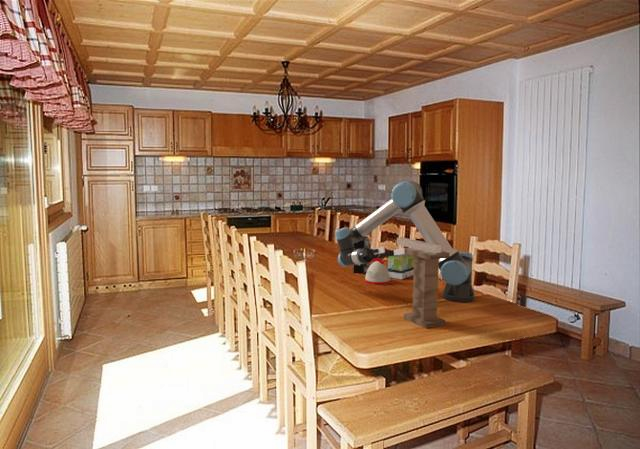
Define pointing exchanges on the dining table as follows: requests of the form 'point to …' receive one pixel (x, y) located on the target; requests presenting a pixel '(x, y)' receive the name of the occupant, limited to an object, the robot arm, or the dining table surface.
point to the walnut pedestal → (425, 288)
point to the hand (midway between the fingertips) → (394, 250)
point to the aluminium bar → (419, 245)
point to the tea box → (401, 266)
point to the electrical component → (359, 245)
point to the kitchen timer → (377, 273)
